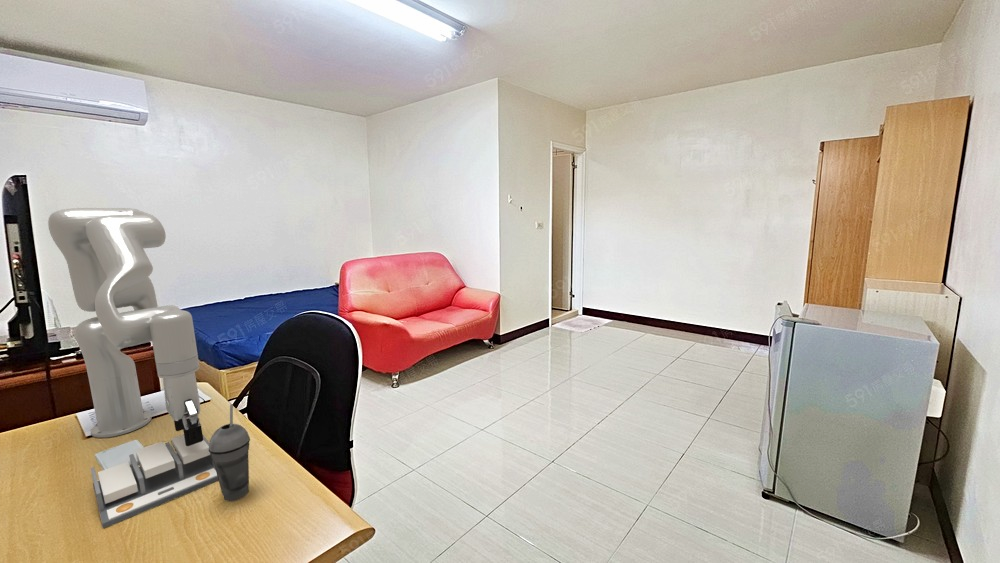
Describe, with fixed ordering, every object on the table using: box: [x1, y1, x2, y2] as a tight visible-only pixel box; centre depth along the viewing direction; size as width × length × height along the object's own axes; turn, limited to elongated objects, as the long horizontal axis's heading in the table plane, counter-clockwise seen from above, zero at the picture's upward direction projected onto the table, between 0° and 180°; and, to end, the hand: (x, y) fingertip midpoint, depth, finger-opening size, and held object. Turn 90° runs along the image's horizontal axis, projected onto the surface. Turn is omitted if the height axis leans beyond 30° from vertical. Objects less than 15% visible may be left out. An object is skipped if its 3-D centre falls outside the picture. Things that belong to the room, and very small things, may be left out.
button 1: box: [97, 462, 138, 504], centre depth 88 cm, size 11×5×3 cm, turn 48°
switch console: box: [90, 434, 219, 529], centre depth 92 cm, size 18×20×5 cm
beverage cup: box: [209, 403, 251, 502], centre depth 86 cm, size 7×7×20 cm
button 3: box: [170, 433, 210, 464], centre depth 97 cm, size 11×5×3 cm, turn 48°
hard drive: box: [94, 439, 145, 470], centre depth 101 cm, size 2×8×12 cm
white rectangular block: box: [135, 441, 175, 478], centre depth 93 cm, size 11×5×3 cm, turn 48°
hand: (189, 435), depth 97 cm, fingers open, 9 cm apart
